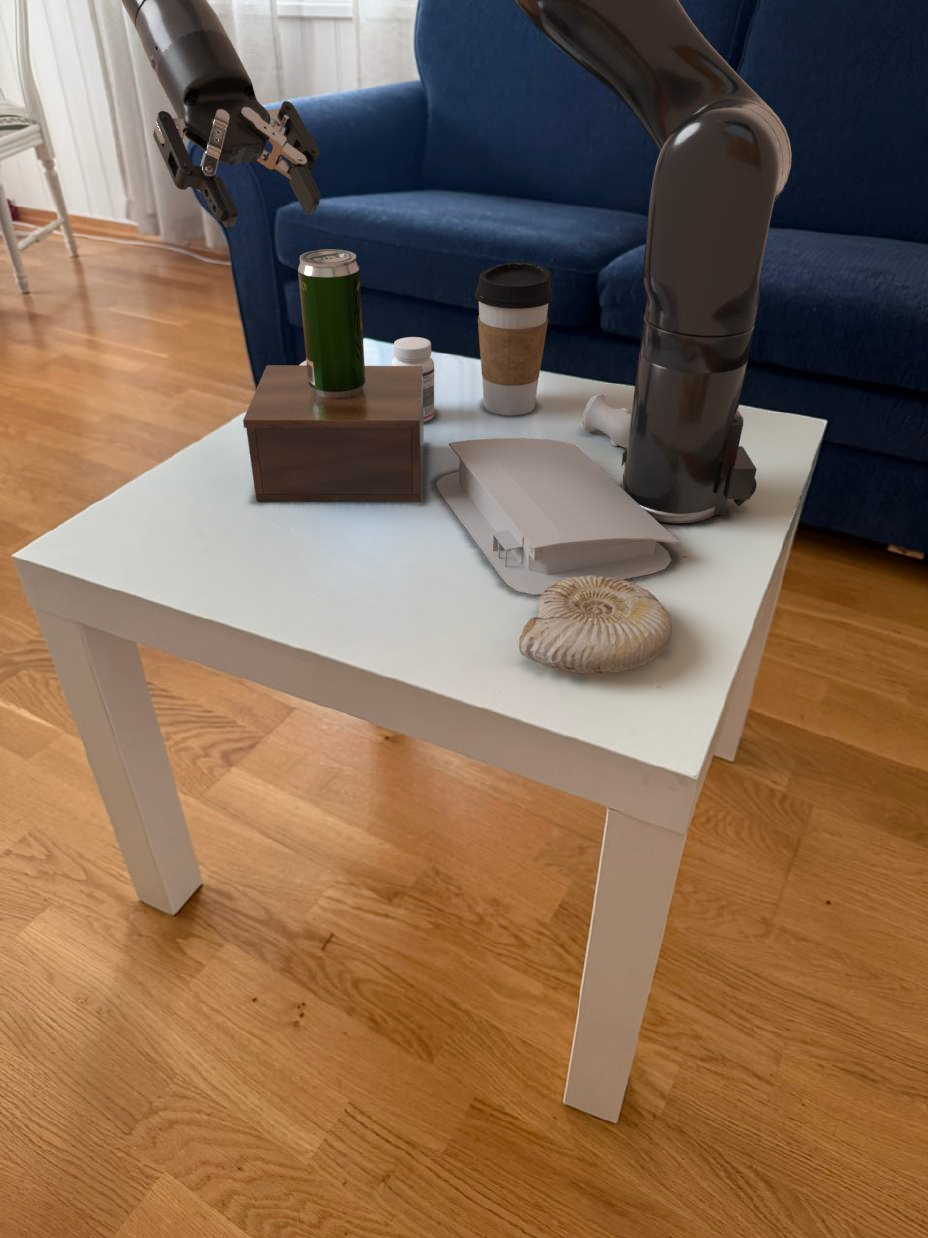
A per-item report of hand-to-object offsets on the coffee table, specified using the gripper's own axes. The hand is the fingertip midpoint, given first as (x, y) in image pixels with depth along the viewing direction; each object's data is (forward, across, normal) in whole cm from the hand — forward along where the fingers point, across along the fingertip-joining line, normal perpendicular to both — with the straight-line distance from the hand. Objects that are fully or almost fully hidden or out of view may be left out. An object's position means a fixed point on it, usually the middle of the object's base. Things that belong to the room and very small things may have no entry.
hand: (274, 215), depth 83 cm
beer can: (+16, 0, +4) cm, 16 cm away
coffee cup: (+21, +24, +11) cm, 34 cm away
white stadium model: (+36, +9, -4) cm, 37 cm away
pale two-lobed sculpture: (+31, +27, +2) cm, 41 cm away
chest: (+22, 0, +10) cm, 24 cm away
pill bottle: (+18, +14, +15) cm, 27 cm away
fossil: (+47, -2, -15) cm, 50 cm away
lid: (+17, 0, +4) cm, 17 cm away
